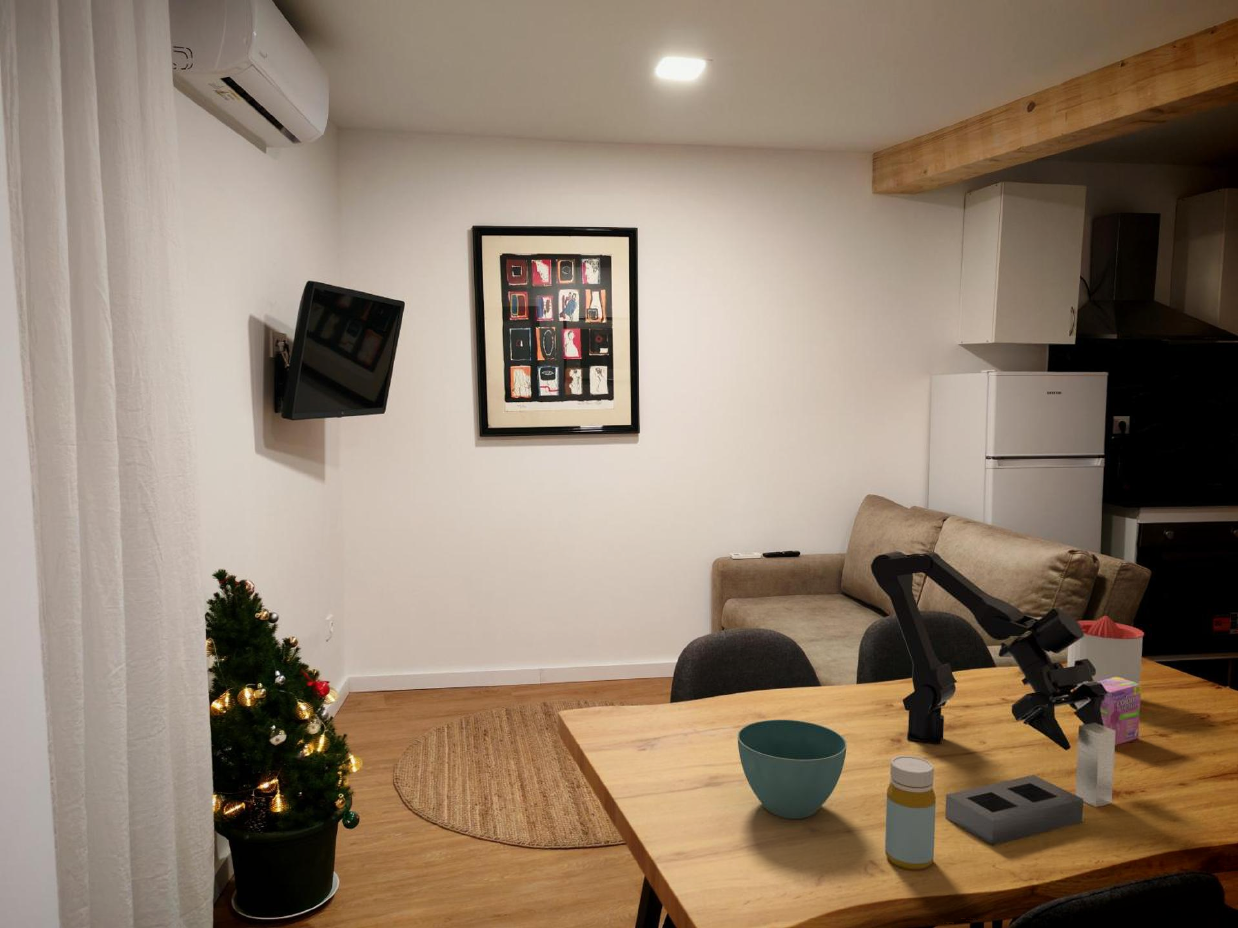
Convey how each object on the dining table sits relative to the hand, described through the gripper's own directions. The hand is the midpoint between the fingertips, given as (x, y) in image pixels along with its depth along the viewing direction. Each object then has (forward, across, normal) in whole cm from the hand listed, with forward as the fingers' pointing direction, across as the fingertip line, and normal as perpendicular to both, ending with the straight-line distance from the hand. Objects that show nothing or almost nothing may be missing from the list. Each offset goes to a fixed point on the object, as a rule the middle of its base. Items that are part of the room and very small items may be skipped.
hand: (1087, 744), depth 154 cm
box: (-5, +28, +18) cm, 34 cm away
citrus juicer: (-18, +48, +31) cm, 60 cm away
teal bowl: (-5, -51, +18) cm, 54 cm away
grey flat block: (+8, -19, +5) cm, 21 cm away
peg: (+8, 0, +5) cm, 9 cm away
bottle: (+10, -44, +3) cm, 45 cm away
